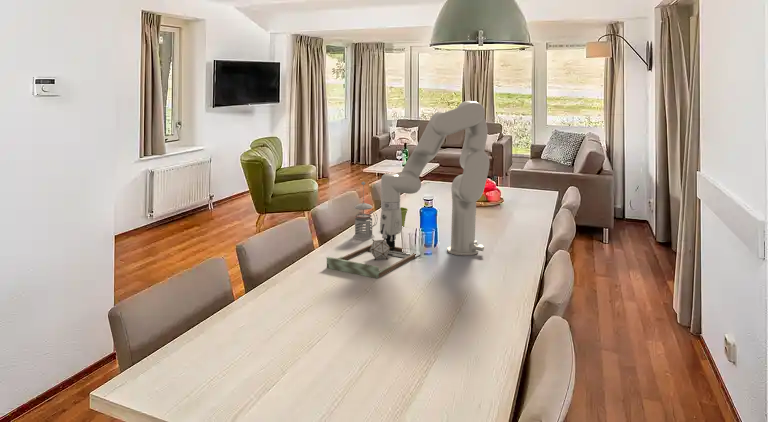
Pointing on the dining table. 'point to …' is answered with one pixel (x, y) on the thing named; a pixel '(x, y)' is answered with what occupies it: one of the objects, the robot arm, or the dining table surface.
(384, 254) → the game die
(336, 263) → the shallow open box
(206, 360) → the dining table surface
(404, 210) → the plant pot
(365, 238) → the french press
